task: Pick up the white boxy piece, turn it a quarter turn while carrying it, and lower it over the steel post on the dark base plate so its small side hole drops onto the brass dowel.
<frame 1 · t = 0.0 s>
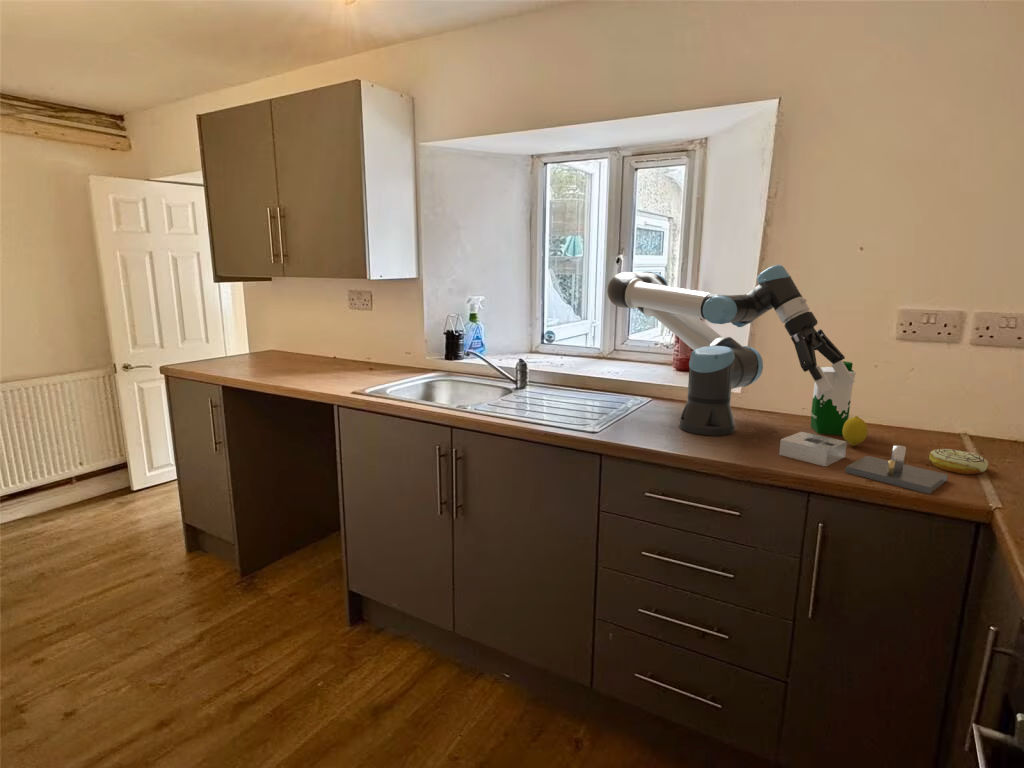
hand: (838, 387, 146), 15 cm above the countertop, tool tilted 35°, fingers open, 13 cm apart
lemon: (852, 446, 148), on the countertop
milk carton: (827, 431, 161), on the countertop
decorated donut: (956, 469, 132), on the countertop
fixture: (895, 476, 126), on the countertop
white boxy piece: (811, 455, 140), on the countertop
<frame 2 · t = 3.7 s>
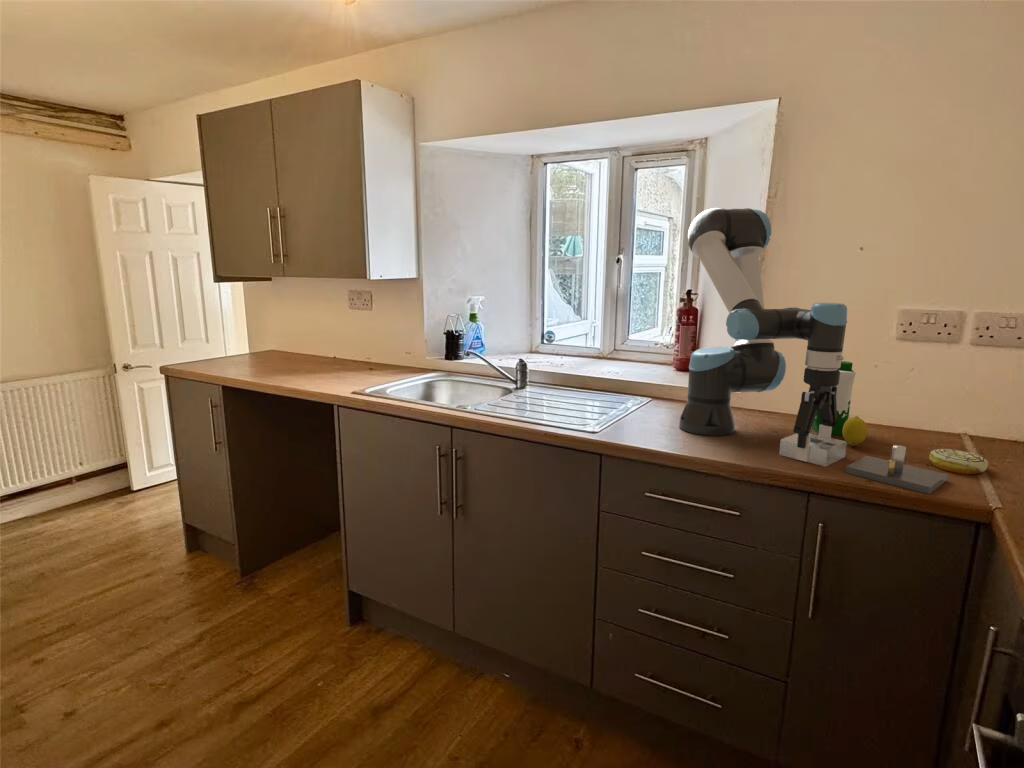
hand: (812, 455, 139), 0 cm above the countertop, tool pointing down, fingers closed on white boxy piece, 11 cm apart
white boxy piece: (811, 455, 140), on the countertop, touching gripper
everything else where it was.
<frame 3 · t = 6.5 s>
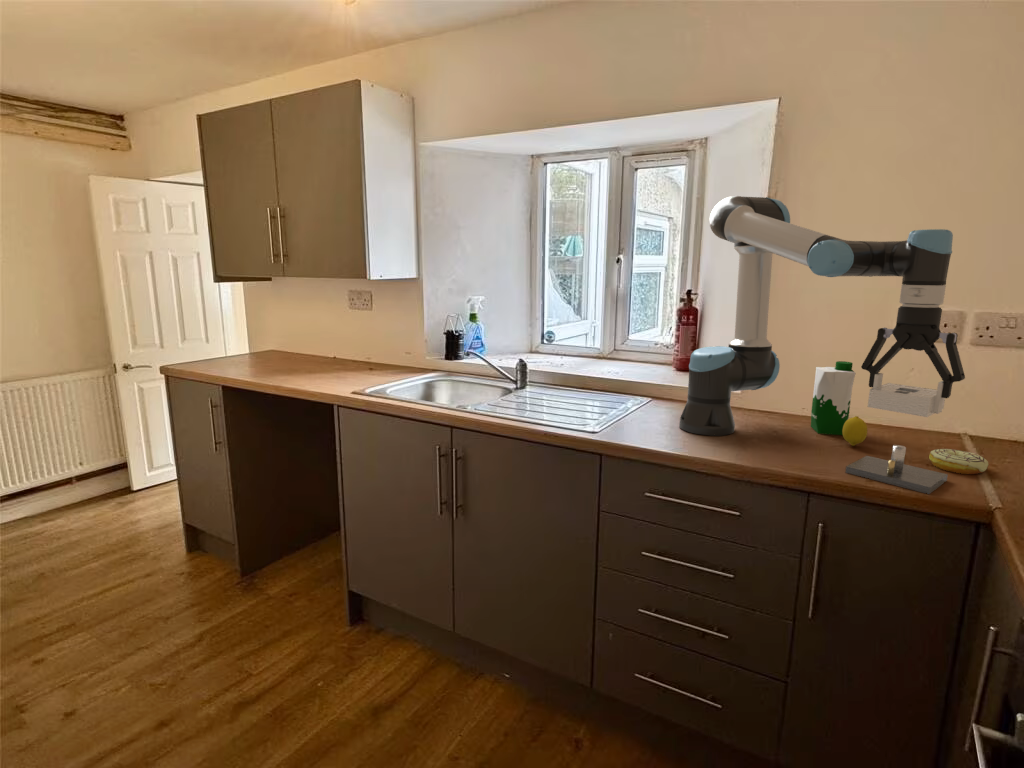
hand: (905, 407, 123), 16 cm above the countertop, tool pointing down, fingers closed on white boxy piece, 11 cm apart
white boxy piece: (905, 408, 123), point 16 cm above the countertop, touching gripper
everything else where it was.
when the fingers open (2 cm above the countertop, at t = 9.3 s): white boxy piece stays where it is, resting on fixture.
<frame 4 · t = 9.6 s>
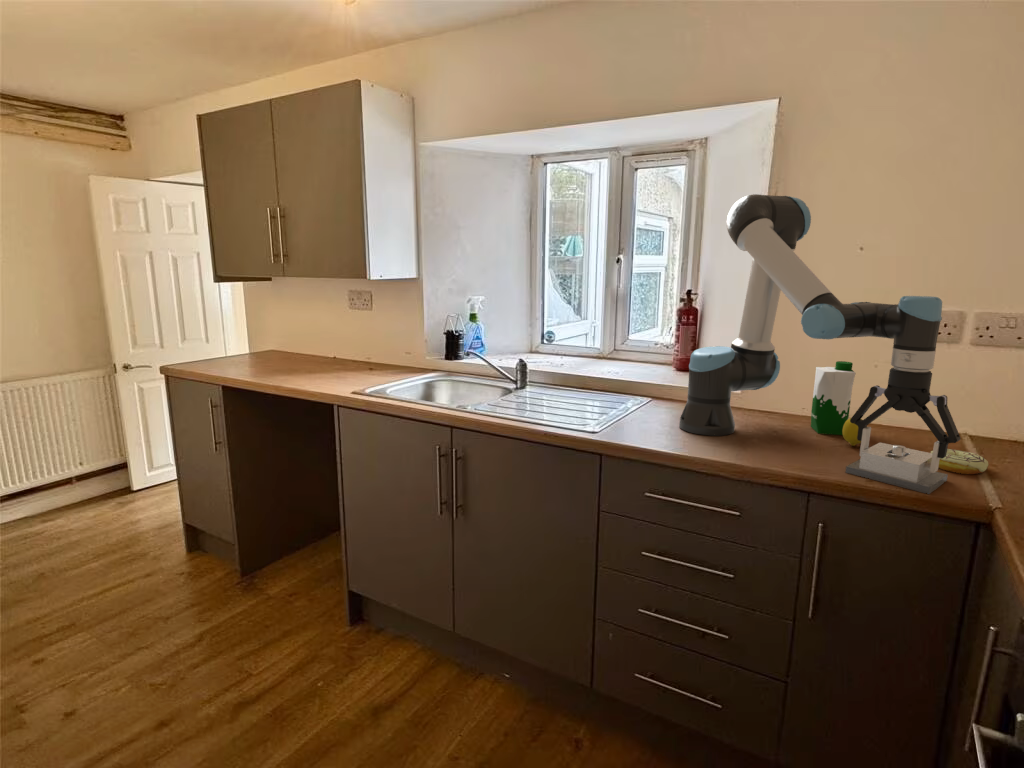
hand: (897, 463, 125), 3 cm above the countertop, tool pointing down, fingers open, 13 cm apart
white boxy piece: (895, 470, 126), point 1 cm above the countertop, touching fixture
everything else where it was.
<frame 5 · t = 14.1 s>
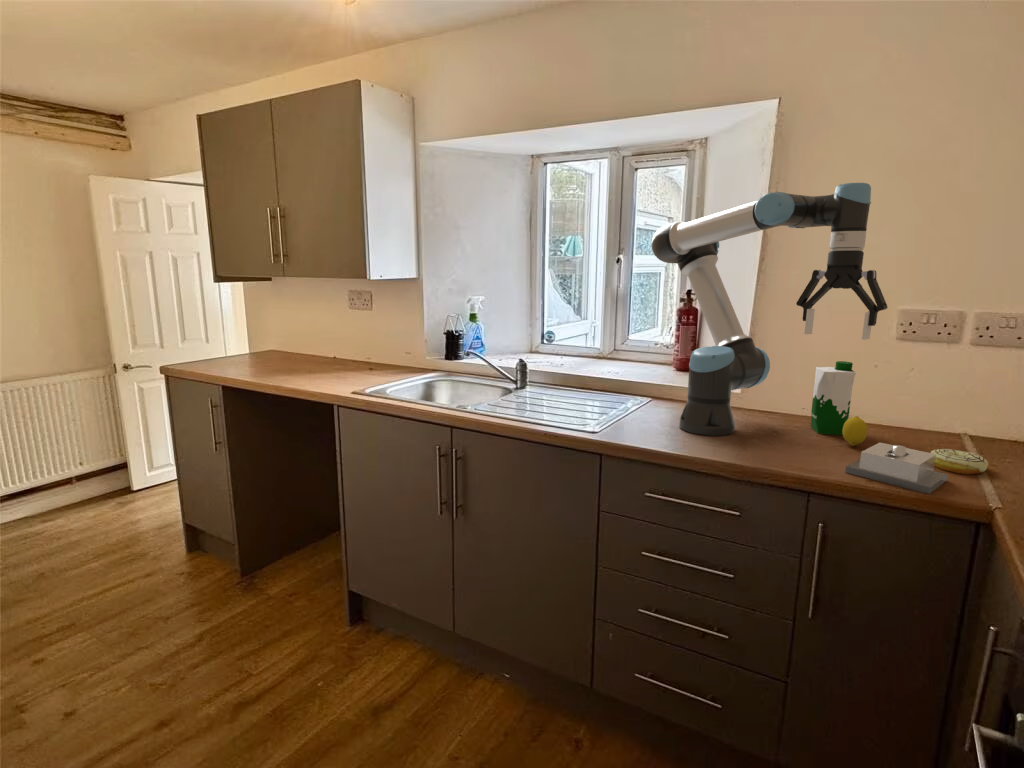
hand: (835, 336, 142), 29 cm above the countertop, tool pointing down, fingers open, 13 cm apart
nothing on the countertop moved.
at the end: white boxy piece 0.1 cm off-centre on the fixture, point 1.5 cm above the fixture's base; white boxy piece tilted 0°; the gripper is holding nothing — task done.
